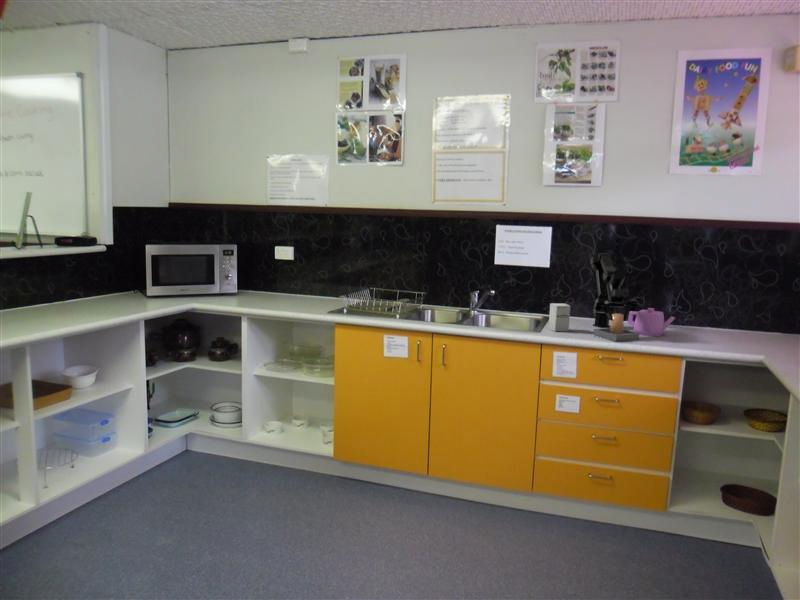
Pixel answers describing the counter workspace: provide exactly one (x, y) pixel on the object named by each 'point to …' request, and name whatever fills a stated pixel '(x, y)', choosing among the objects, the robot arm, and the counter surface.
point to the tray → (624, 336)
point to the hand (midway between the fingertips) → (617, 320)
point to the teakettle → (649, 322)
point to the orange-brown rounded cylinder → (617, 323)
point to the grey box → (559, 317)
